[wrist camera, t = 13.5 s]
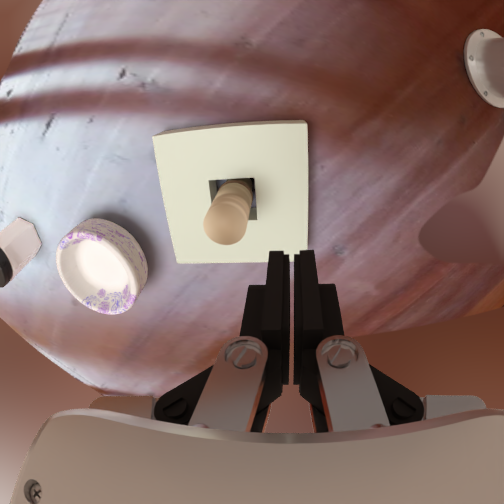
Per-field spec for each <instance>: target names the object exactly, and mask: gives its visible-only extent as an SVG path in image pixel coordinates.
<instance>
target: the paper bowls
mask: <svg viewBox="0 0 504 504" xmlns="http://www.w3.org/2000/svg"><path fill="white" fill-rule="evenodd" d="M56 264H57V268H58V272H59V274H60V277H61V279H62V281H63V283H64V284H65V286H66V287H67V289H68V290H69V291H70V293H71V294H72V295H73V296H74V297H75V298H76V299H77V300H78V301H80V302H81V303H82V304H84V305H85V306H87V307H88V308H90V309H92V310H94V311H97V312H100V313H104V314H120V313H123V312H125V311H127V310H129V309H130V308H131V307H132V306H133V305H134V303H135V302H136V300H137V298H138V297H139V295H140V293H141V291H142V289H143V288H144V286H145V283H146V280H147V276H148V266H147V261H146V258H145V255H144V253H143V251H142V249H141V247H140V245H139V244H138V242H137V241H136V240H135V238H134V237H133V236H132V235H131V234H130V233H129V232H127V231H126V230H125V229H124V228H122V227H121V226H119V225H117V224H115V223H113V222H111V221H108V220H104V219H89V220H86V221H83V222H81V223H80V224H79V225H77V226H76V227H75V228H73V229H72V230H71V231H70V232H69V233H68V234H67V235H65V236H64V237H63V238H62V240H61V241H60V243H59V245H58V248H57V252H56Z"/></svg>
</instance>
